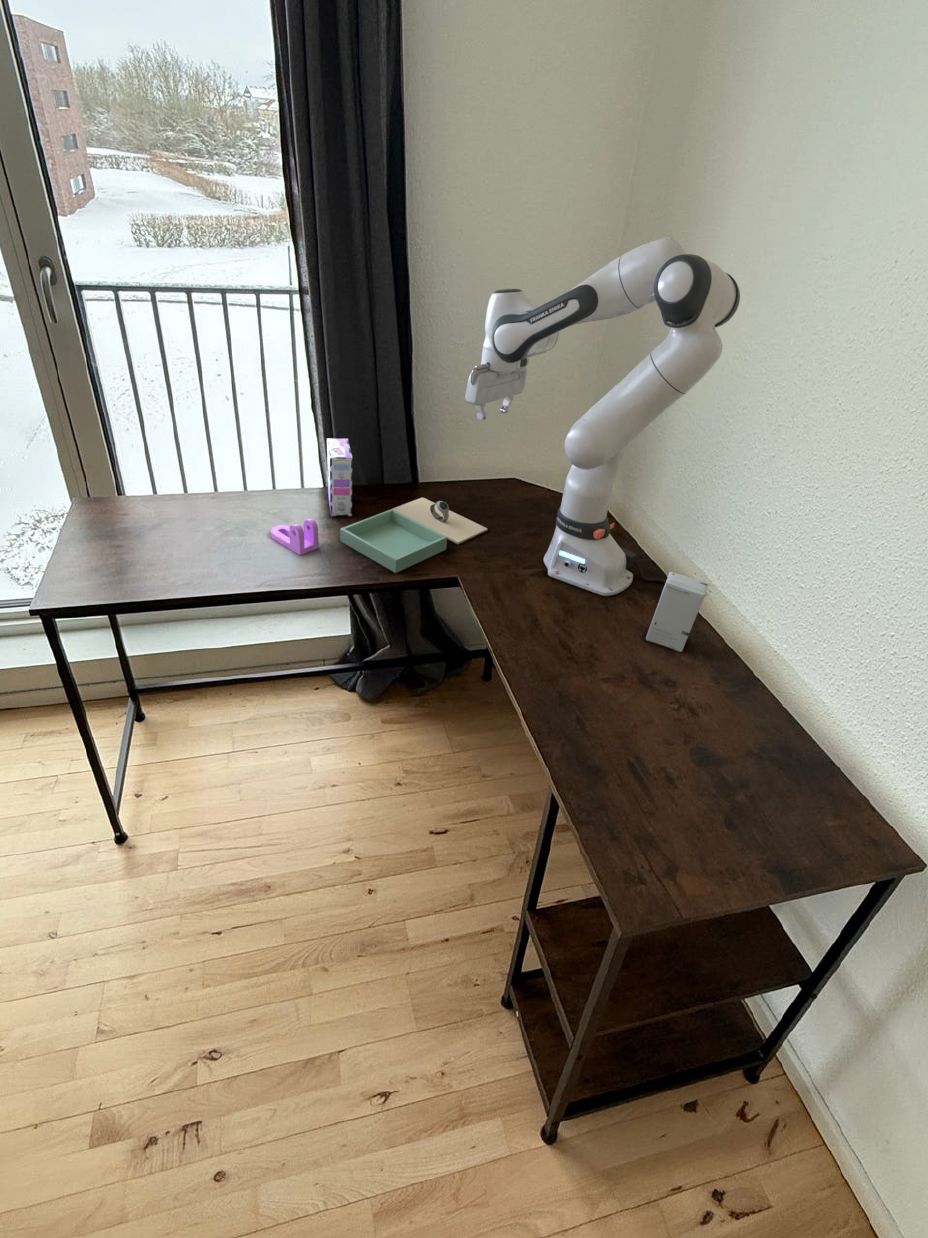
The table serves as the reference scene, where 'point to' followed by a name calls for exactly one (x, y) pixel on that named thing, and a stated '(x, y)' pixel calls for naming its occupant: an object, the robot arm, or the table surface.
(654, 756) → the table surface
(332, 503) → the candy box
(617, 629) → the table surface
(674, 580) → the cosmetic box
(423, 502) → the mat
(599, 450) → the robot arm
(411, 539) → the tray
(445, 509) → the wristwatch
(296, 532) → the bracket
